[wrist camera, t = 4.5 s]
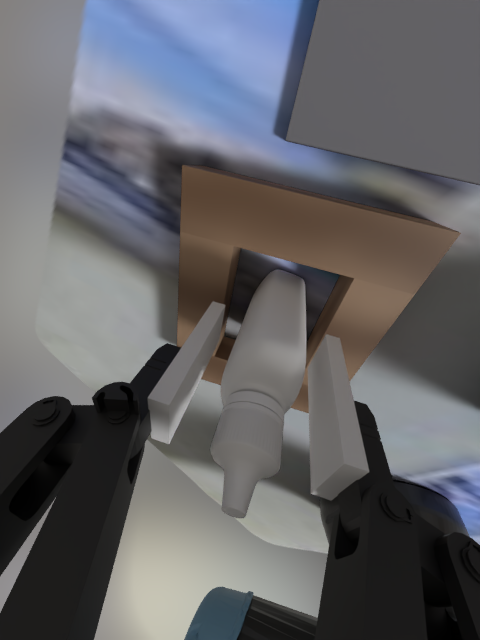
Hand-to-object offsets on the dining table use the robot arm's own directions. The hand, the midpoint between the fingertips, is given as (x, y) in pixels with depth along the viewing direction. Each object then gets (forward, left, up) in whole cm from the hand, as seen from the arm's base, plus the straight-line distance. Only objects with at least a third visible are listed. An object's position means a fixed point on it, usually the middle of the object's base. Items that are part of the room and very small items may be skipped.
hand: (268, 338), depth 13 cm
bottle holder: (0, 0, -4) cm, 4 cm away
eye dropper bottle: (0, 0, -4) cm, 4 cm away
